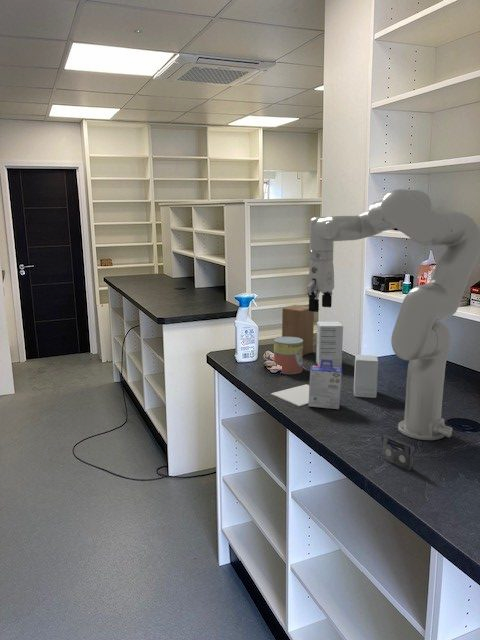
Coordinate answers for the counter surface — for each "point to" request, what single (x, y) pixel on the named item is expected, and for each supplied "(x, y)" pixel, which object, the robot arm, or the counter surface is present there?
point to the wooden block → (299, 325)
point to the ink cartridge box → (325, 386)
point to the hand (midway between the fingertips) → (320, 309)
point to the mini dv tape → (397, 452)
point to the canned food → (289, 354)
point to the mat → (294, 395)
